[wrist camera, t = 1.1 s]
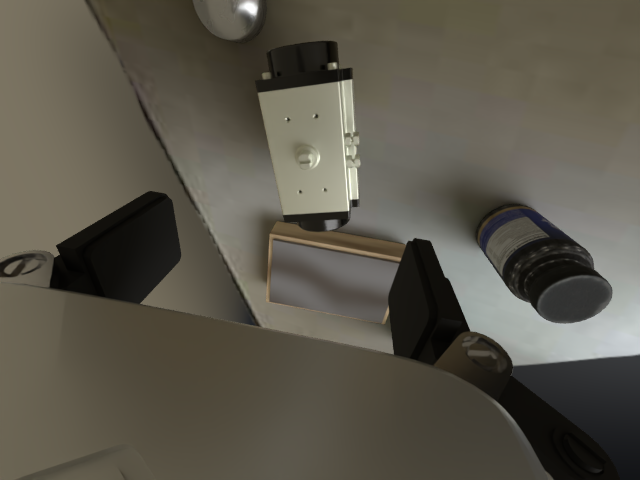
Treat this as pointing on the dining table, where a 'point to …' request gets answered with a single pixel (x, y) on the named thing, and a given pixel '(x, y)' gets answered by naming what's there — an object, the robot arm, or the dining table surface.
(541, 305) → the pill bottle
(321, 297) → the framed panel
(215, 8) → the steel spacer
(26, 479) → the robot arm
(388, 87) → the dining table surface
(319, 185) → the pneumatic valve
